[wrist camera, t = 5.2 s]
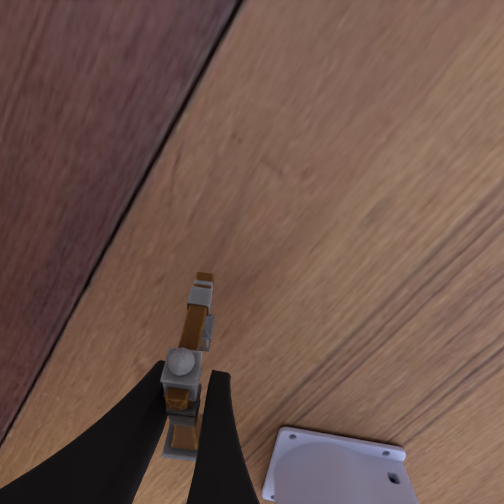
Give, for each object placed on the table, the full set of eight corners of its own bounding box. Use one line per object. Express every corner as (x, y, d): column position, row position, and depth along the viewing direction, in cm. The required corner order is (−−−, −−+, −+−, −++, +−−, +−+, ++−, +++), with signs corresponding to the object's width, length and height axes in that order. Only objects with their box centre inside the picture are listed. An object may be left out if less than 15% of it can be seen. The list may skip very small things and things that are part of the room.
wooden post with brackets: (233, 259, 11) (209, 393, 8) (220, 365, 16) (203, 468, 13) (180, 251, 11) (134, 382, 8) (185, 360, 16) (160, 462, 13)
